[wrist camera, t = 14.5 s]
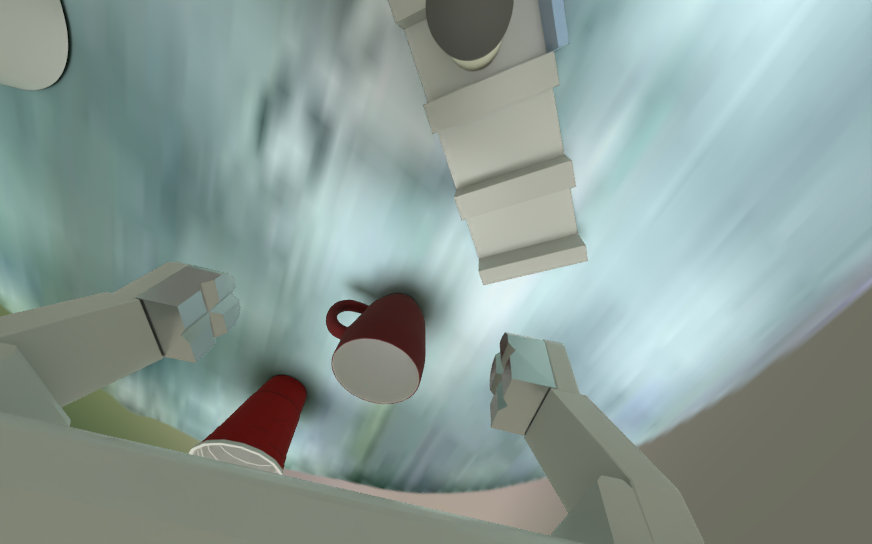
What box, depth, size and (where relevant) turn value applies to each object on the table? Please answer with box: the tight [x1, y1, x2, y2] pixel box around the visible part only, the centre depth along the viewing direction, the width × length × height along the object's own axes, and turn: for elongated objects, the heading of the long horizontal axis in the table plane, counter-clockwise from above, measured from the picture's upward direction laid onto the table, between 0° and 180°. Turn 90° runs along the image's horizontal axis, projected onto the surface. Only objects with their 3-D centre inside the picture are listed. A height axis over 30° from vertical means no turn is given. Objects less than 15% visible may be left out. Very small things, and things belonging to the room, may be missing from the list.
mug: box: [326, 293, 425, 404], centre depth 32 cm, size 11×8×10 cm
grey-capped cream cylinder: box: [425, 0, 514, 71], centre depth 18 cm, size 4×4×10 cm
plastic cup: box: [189, 375, 306, 475], centre depth 41 cm, size 11×11×12 cm
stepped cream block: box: [388, 0, 588, 285], centre depth 24 cm, size 22×10×6 cm, turn 20°
